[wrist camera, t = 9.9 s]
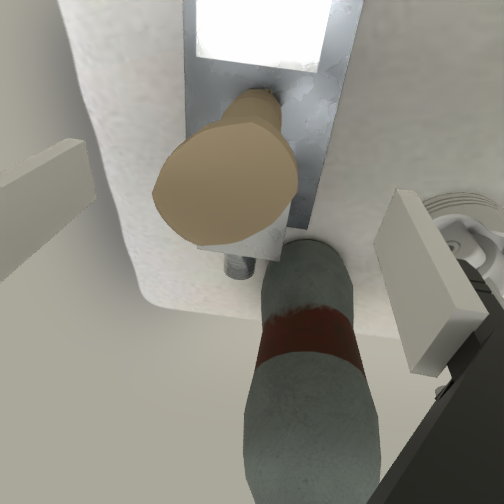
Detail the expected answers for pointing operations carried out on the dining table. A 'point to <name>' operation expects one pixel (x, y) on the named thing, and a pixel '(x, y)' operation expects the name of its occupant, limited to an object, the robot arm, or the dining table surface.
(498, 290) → the engine component
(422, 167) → the dining table surface
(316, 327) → the bottle
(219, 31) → the shaft bed
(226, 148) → the handle
